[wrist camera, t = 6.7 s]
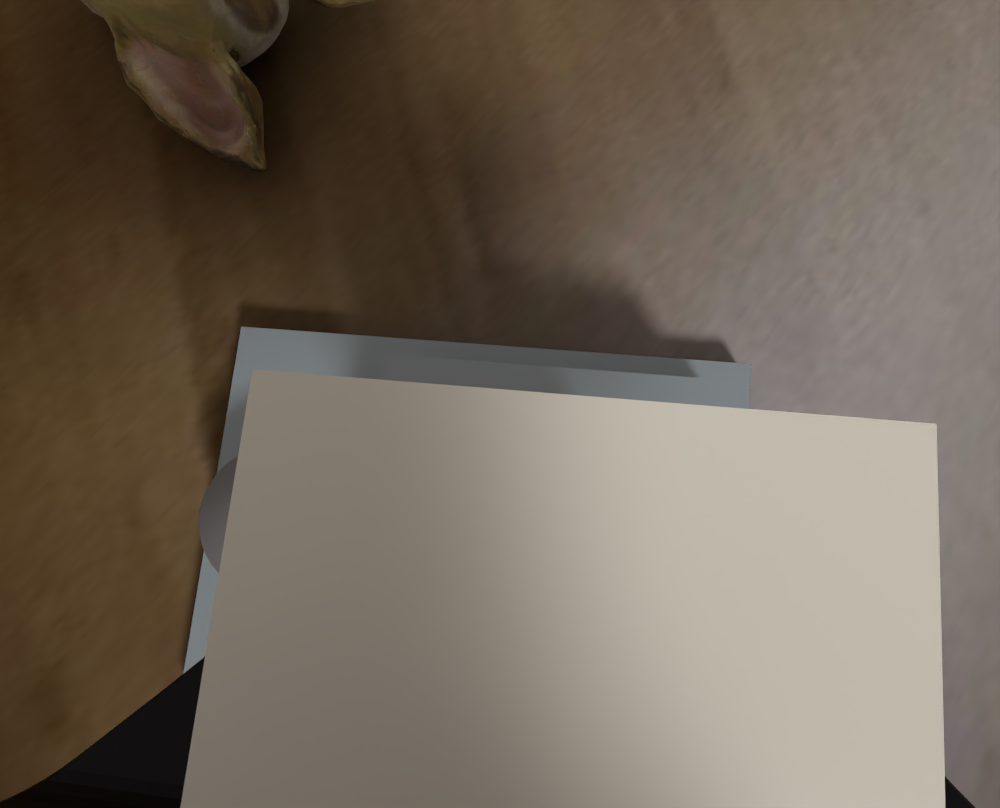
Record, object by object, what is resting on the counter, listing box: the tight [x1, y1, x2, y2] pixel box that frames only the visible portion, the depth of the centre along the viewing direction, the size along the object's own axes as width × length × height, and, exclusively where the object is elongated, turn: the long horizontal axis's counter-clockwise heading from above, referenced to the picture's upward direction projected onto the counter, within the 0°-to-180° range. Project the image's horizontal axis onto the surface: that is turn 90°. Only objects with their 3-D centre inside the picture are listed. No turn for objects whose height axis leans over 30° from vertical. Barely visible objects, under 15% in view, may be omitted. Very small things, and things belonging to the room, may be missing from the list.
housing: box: [183, 327, 751, 674], centre depth 19 cm, size 13×18×4 cm
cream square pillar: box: [180, 369, 945, 808], centre depth 10 cm, size 6×6×13 cm
